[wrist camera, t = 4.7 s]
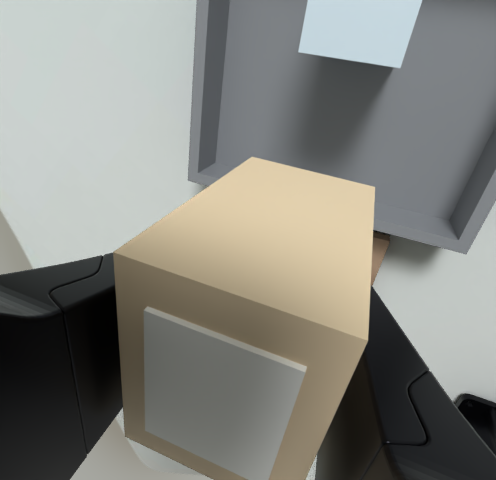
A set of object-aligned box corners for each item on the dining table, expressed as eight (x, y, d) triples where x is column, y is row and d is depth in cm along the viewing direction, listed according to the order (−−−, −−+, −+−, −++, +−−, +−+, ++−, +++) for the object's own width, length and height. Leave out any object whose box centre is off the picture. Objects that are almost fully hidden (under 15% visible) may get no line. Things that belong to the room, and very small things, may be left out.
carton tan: (330, 313, 11) (286, 522, 6) (233, 280, 12) (121, 441, 7) (375, 187, 9) (367, 346, 4) (252, 156, 10) (108, 256, 5)
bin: (454, 229, 19) (466, 254, 16) (209, 167, 22) (187, 180, 20) (612, -83, 12) (671, -121, 10) (231, -104, 16) (203, -136, 13)
